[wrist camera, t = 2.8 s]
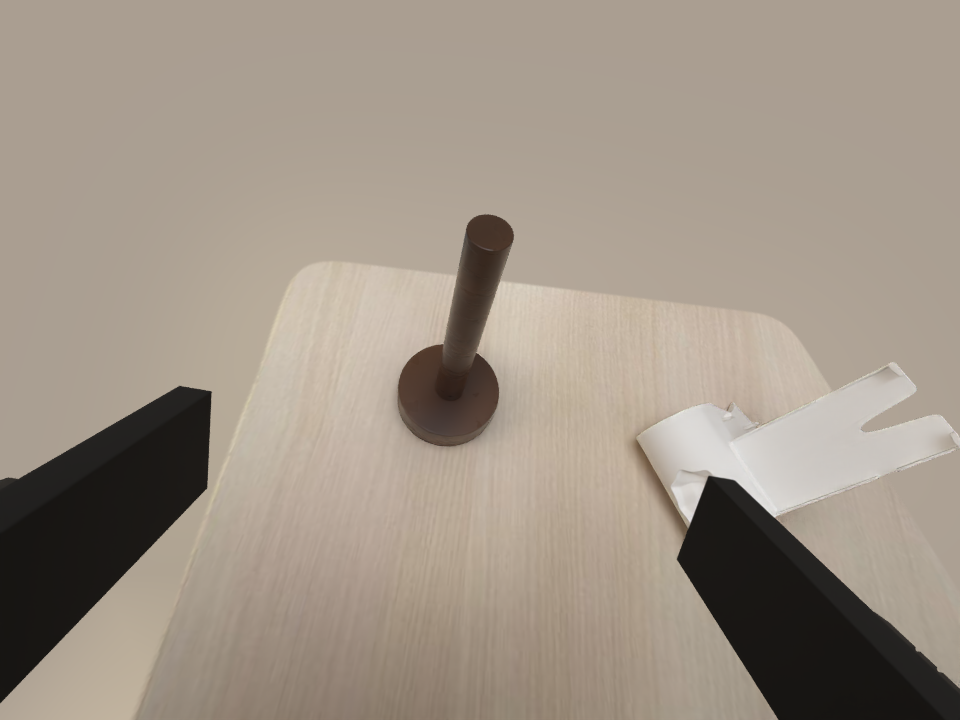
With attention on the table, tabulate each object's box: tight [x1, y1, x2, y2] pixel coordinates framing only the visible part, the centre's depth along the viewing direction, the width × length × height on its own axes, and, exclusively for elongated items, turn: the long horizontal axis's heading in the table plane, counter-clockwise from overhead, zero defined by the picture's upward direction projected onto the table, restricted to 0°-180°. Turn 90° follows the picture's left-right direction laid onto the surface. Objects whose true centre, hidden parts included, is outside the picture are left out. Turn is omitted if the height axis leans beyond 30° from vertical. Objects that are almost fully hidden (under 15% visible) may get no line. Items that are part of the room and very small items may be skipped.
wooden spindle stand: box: [398, 215, 514, 446], centre depth 24 cm, size 6×6×16 cm
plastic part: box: [636, 362, 960, 528], centre depth 27 cm, size 8×10×12 cm
